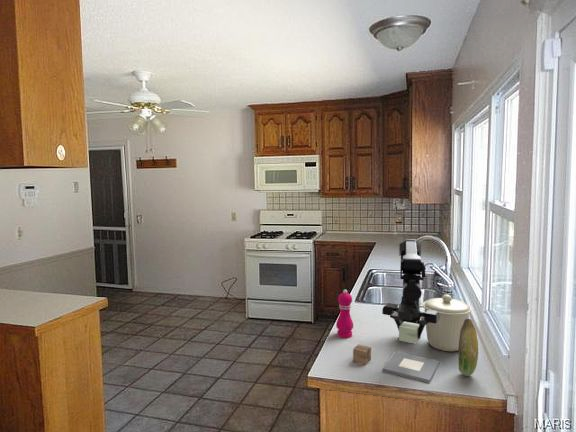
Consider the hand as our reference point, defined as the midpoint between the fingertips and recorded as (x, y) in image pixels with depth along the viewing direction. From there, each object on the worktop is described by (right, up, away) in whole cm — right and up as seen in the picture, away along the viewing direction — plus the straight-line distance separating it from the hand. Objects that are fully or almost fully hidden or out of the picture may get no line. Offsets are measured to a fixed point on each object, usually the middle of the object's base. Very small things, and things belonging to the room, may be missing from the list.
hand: (409, 336), depth 144 cm
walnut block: (-16, -11, +6) cm, 20 cm away
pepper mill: (-19, -9, +30) cm, 36 cm away
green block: (0, -1, 0) cm, 1 cm away
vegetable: (+18, -12, -6) cm, 22 cm away
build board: (+1, -11, +1) cm, 11 cm away
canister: (+20, -10, +18) cm, 28 cm away
